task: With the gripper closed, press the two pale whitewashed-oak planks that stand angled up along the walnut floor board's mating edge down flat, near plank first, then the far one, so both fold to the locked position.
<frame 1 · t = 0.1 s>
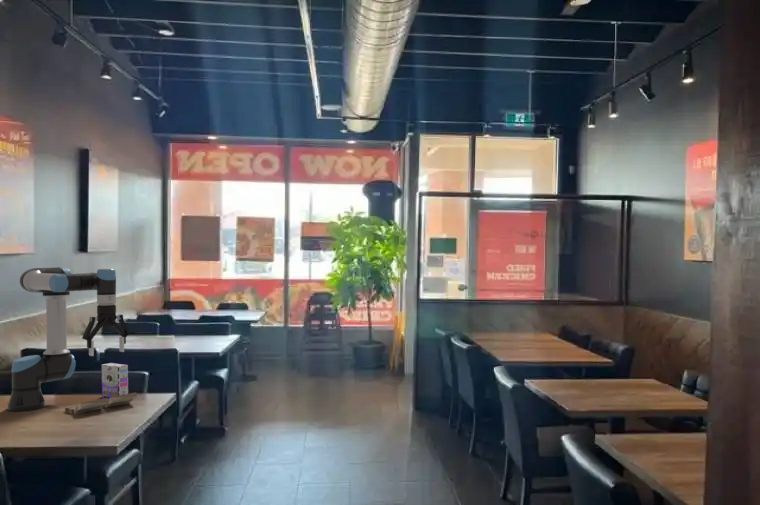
hand: (106, 353, 273), 28 cm above the table, fingers open, 13 cm apart
plank a: (91, 405, 283), point 3 cm above the table, hinge at 30.0°
floor board: (97, 407, 294), on the table
plank b: (120, 399, 294), point 3 cm above the table, hinge at 30.0°
candy box: (115, 398, 313), on the table
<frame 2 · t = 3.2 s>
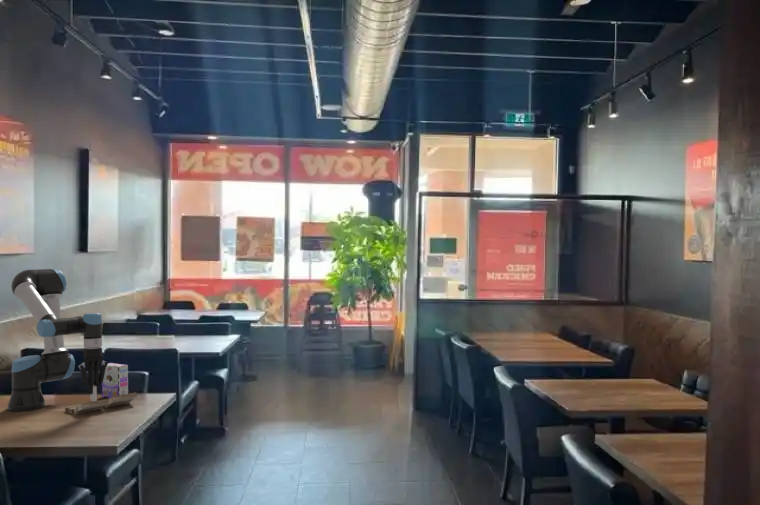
hand: (93, 400, 282), 6 cm above the table, fingers closed
plank a: (91, 406, 283), point 3 cm above the table, hinge at 25.7°, touching gripper
everything else where it was.
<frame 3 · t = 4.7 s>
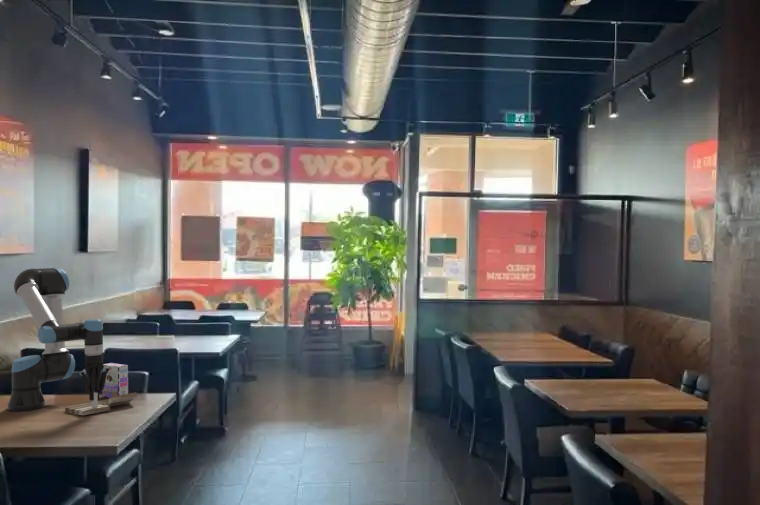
hand: (94, 407, 281), 3 cm above the table, fingers closed
plank a: (92, 409, 283), point 1 cm above the table, hinge at 4.4°, touching gripper
everything else where it was.
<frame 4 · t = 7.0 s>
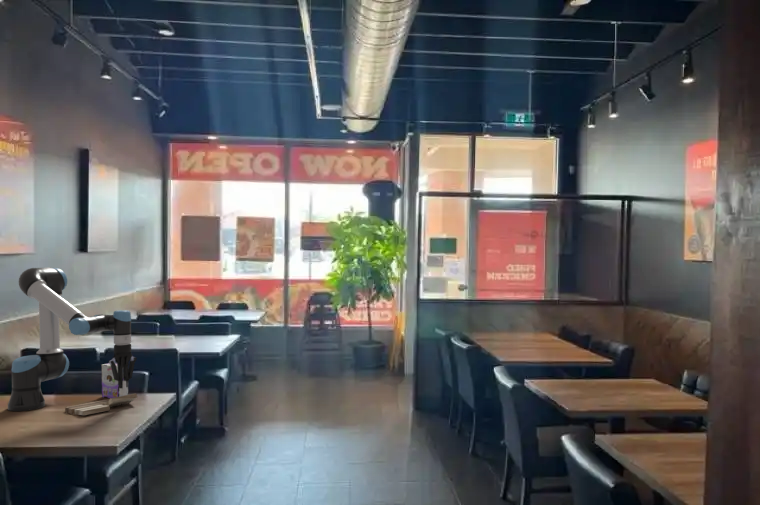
hand: (123, 394, 293), 6 cm above the table, fingers closed
plank a: (92, 409, 283), point 1 cm above the table, hinge at 4.2°
plank b: (121, 400, 294), point 3 cm above the table, hinge at 26.4°, touching gripper
everything else where it was.
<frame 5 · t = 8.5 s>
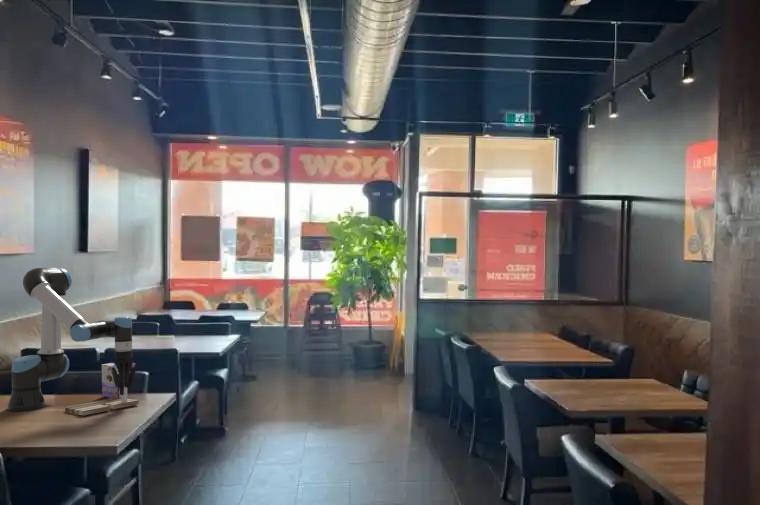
hand: (124, 401, 292), 3 cm above the table, fingers closed
plank b: (121, 403, 294), point 1 cm above the table, hinge at 4.5°, touching gripper
everything else where it was.
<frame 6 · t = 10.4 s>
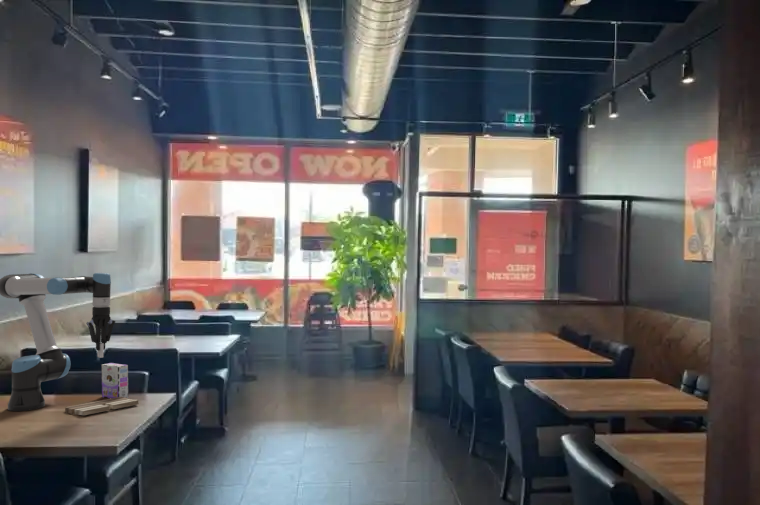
hand: (100, 357, 293), 23 cm above the table, fingers closed
plank b: (121, 404, 294), point 1 cm above the table, hinge at 4.3°
everything else where it was.
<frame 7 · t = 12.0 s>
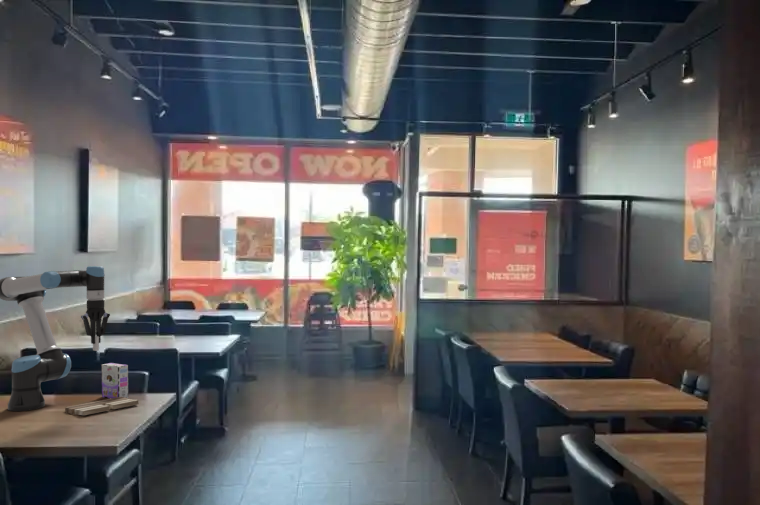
hand: (95, 350, 293), 26 cm above the table, fingers closed
nothing on the table moved.
at the end: plank a at +4° (first picture: +30°); plank b at +4° (first picture: +30°) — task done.
